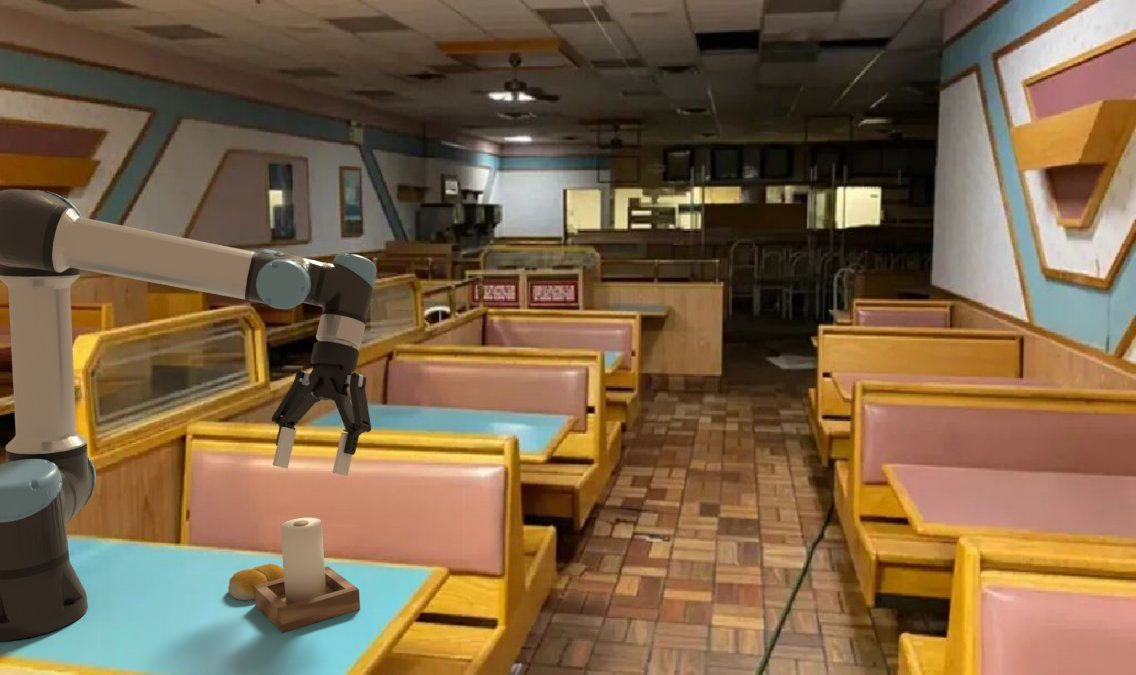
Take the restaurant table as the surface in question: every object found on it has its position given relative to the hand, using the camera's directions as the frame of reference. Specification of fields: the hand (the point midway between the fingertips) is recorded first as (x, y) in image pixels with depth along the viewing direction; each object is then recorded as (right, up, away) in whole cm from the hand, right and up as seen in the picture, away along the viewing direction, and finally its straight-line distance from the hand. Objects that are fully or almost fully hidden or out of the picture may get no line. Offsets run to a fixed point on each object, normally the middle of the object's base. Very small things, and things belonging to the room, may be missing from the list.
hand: (309, 470), depth 151 cm
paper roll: (+2, -18, -9) cm, 21 cm away
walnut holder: (+2, -20, -9) cm, 22 cm away
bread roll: (-8, -19, -1) cm, 21 cm away
